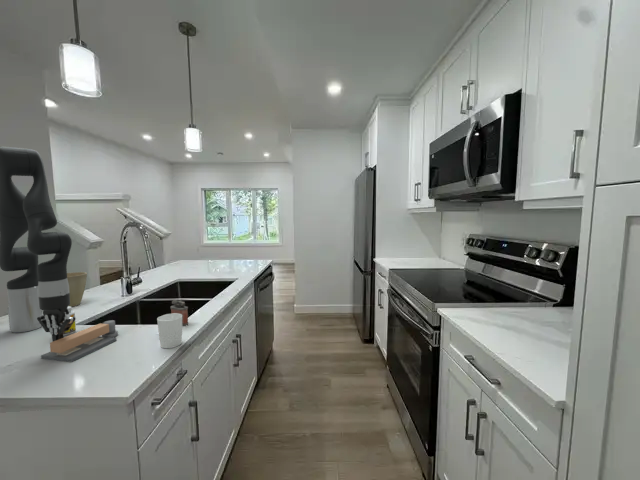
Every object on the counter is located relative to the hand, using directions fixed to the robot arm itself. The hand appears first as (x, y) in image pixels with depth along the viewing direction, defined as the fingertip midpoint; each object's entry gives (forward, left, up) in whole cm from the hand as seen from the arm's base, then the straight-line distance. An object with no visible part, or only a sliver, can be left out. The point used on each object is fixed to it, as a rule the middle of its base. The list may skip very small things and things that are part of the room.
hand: (58, 344), depth 98 cm
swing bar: (+4, +6, -1) cm, 8 cm away
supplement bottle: (-15, +14, -3) cm, 21 cm away
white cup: (+32, +13, -3) cm, 35 cm away
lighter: (+22, +31, -3) cm, 38 cm away
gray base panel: (+4, +7, -3) cm, 8 cm away
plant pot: (-51, +44, -3) cm, 67 cm away
